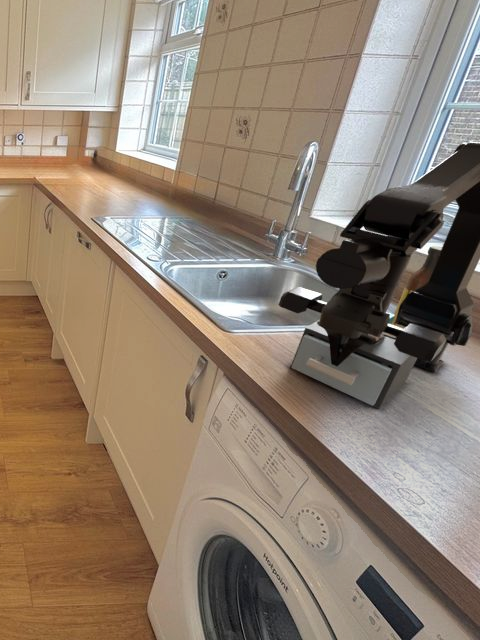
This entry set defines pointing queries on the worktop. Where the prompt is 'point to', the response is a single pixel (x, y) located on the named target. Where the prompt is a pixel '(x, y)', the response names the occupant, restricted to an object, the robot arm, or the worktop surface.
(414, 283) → the sauce bottle
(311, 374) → the dispenser drawer
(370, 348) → the grey drawer box
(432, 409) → the worktop surface
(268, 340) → the worktop surface
